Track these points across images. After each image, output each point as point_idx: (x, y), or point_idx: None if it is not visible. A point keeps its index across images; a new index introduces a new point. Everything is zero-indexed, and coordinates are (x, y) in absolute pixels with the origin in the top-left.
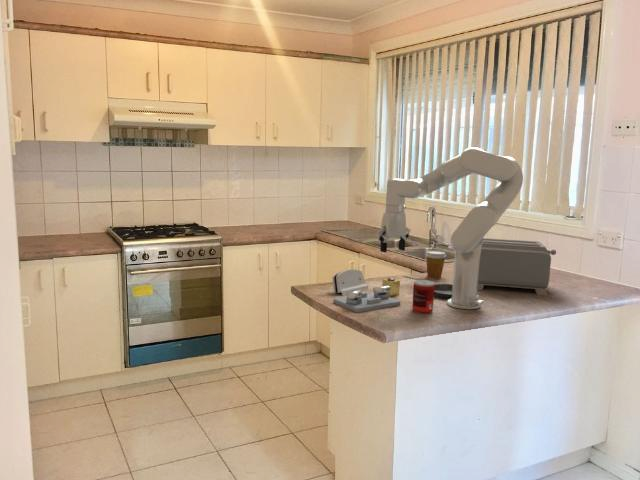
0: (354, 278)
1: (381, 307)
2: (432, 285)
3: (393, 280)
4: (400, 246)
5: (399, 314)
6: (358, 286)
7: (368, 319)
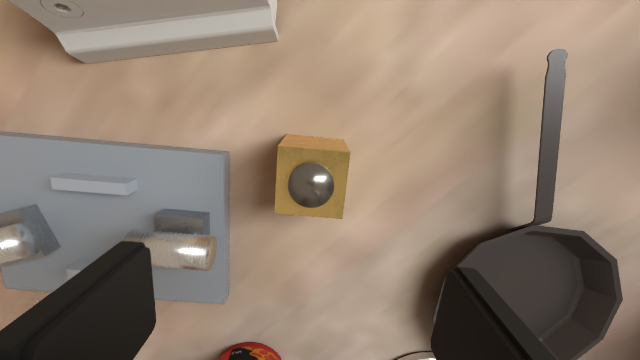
0: None
1: None
2: None
3: (306, 205)
4: (461, 332)
5: (152, 357)
6: (200, 27)
7: None
